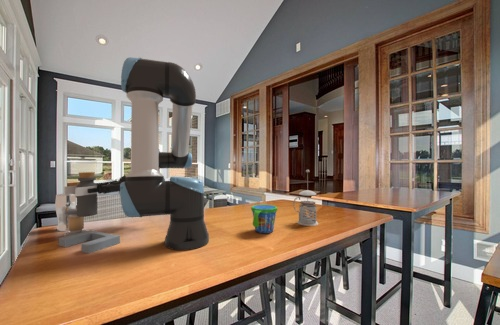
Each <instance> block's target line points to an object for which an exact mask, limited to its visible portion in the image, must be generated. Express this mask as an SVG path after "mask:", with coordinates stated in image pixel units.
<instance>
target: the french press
mask: <svg viewBox="0 0 500 325" xmlns="http://www.w3.org/2000/svg"><path fill="white" fill-rule="evenodd" d="M305 173H307V179H306V180H307V181H306V182H307V185H306V186H307V190H303V191H300V192H299V193H298V195H300V196H305V197H306V196H307V198H309V197H313V196H317V193H316V192H315V191H312V190H309V173H310V169H306V170H305ZM300 196H296V197H295V198H294V200H293V201H292V202H293V203H292V206H293V210H295V211H296V212H297V213H298V221H297V222H296V223H297V225H301V226H306V227H307V226H309V227H313V226H318V225H319V222H318V221H317V205H315V204H316V201H309V200H303V201H302V200H301V197H300ZM296 200H300V201H299V203H300V204H299V210H297V209H296V206H295V202H296Z"/></svg>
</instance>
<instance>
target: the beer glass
mask: <svg viewBox="0 0 500 325" xmlns="http://www.w3.org/2000/svg"><path fill="white" fill-rule="evenodd" d="M54 203H55V204H54V205H55V206H54V207H55V208H54V209H55V212H56V213H55V214H56V217H57V227H56V231H57V232H68V231H69V228H68V217H70V215H67V214H65V211H66V210H69V209H76V208H77V196H75V194H69V195H64V193H58V194H55V201H54ZM69 232H70V231H69Z"/></svg>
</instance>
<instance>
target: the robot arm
mask: <svg viewBox="0 0 500 325" xmlns="http://www.w3.org/2000/svg"><path fill="white" fill-rule="evenodd" d="M120 77H121V78H120V79H121V82H120V86H121V90H122V92H123V93H126V98H127V99H128V100H129V101H131V108H130V109H131V118H130V119H131V123H130V124H131V128H130V130H131V131H130V132H131V133H130V136H131V137H130V145H131V146H130V148H131V149H130V172H128V174H126V175H122V176H121V177H119V180H112V181H104V182H94V183H95V184H97V186H88V187H79V188H77V185H69V186H63V194H64V195H69V194H75V196H76V197H77V196H83V195H90V194H97V195H98V194H104V195H105V194H110V193H116V192H117V193H118V192H119V198H120V204H121V208H122V211H123V213H124V215H125V216H126V217H127V218H142V217H155V216H167V215H170V216H169V217H170V220H169V221H170V222H169V225H168V228H167V231H166V235H165V237H164V246H165V247H166V248H168V249H170V250H174V251H175V250H178V251H185V250H186V251H187V250H188V251H189V250H193V249H194V250H195V249H199V248H202V247H204V246H206V245H207V244H208V243H209V242H210V235H209V232H208V228H207V224H206V223H205V186H204V182H203V180H201V179H198V178H192V177H185V176H170V177H169V180H166V179H165V176H164V175H163V173H161V172H160V170H161V169H190V168H191V167H192V166H193V154H192V153H191V152H190V151H189V150H190V137H191V127H192V126H191V125H192V117H193V116H192V113H193V106H195V104H196V100H197V99H196V98H197V94H196V89H195V88H196V87H195V85H194V82H193V80H192V78H191V76H190V75H189V73H188V72H187V71H186V70H185V68H183V67H182V66H180V65H179V64H178V63H174V62H171V61H170V62H169V61H168V62H167V61H163V60H155V59H148V58H147V59H146V58H143V57H126V58H125V60H124V61H123V64H122V68H121V76H120ZM164 96H165V97H169V101H170V103H172V110H171V111H172V112H171V114H172V118H171V119H172V121H171V151H169V152H168V151H167V152H166V151H165V152H164V151H160V149H159V148H160V146H159V144H160V143H159V142H160V141H159V140H160V139H159V137H160V136H159V133H160V132H159V131H160V130H159V125H160V124H159V122H160V121H159V104H161V103H162V102H163V100H164Z"/></svg>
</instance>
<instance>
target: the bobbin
mask: <svg viewBox="0 0 500 325" xmlns="http://www.w3.org/2000/svg"><path fill="white" fill-rule="evenodd" d="M65 214H67V215H70V217H68V228H69V232H68V231H67V232H66V233H65V234H64V237H65V236H69V235H73V234H77V233H81V232H85V231H87V230H86V229H84V228H85V227H84V226H85V224H84V222H85V221H84V220H85V219H84V218H85V217H78V216H77V207H76V209H69V210H66V211H65Z"/></svg>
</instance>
